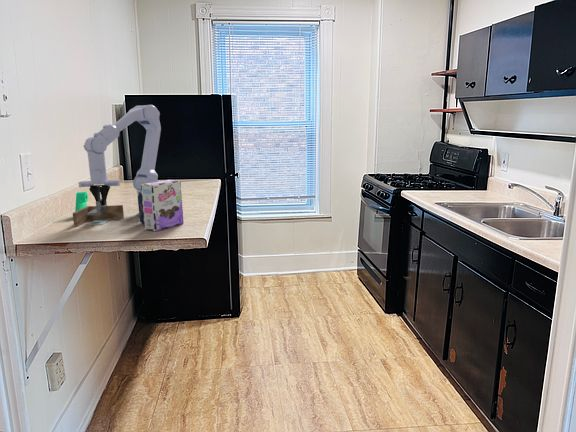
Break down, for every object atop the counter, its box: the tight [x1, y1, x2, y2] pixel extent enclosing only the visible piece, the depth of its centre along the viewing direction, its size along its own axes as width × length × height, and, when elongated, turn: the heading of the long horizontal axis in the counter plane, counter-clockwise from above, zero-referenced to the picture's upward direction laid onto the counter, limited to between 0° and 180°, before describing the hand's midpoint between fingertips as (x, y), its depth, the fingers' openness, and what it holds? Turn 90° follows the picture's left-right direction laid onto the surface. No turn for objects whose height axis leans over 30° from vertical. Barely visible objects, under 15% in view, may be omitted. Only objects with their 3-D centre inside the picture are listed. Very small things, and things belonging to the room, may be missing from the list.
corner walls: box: [72, 204, 125, 228], centre depth 172 cm, size 14×14×5 cm
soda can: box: [137, 191, 144, 226], centre depth 167 cm, size 7×7×12 cm
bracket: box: [87, 198, 108, 215], centre depth 170 cm, size 8×5×5 cm, turn 4°
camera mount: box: [74, 191, 89, 212], centre depth 184 cm, size 12×8×10 cm, turn 9°
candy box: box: [141, 179, 184, 232], centre depth 160 cm, size 14×6×16 cm, turn 148°
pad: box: [87, 219, 111, 226], centre depth 172 cm, size 9×5×1 cm, turn 4°
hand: (101, 205), depth 170 cm, fingers closed on bracket
